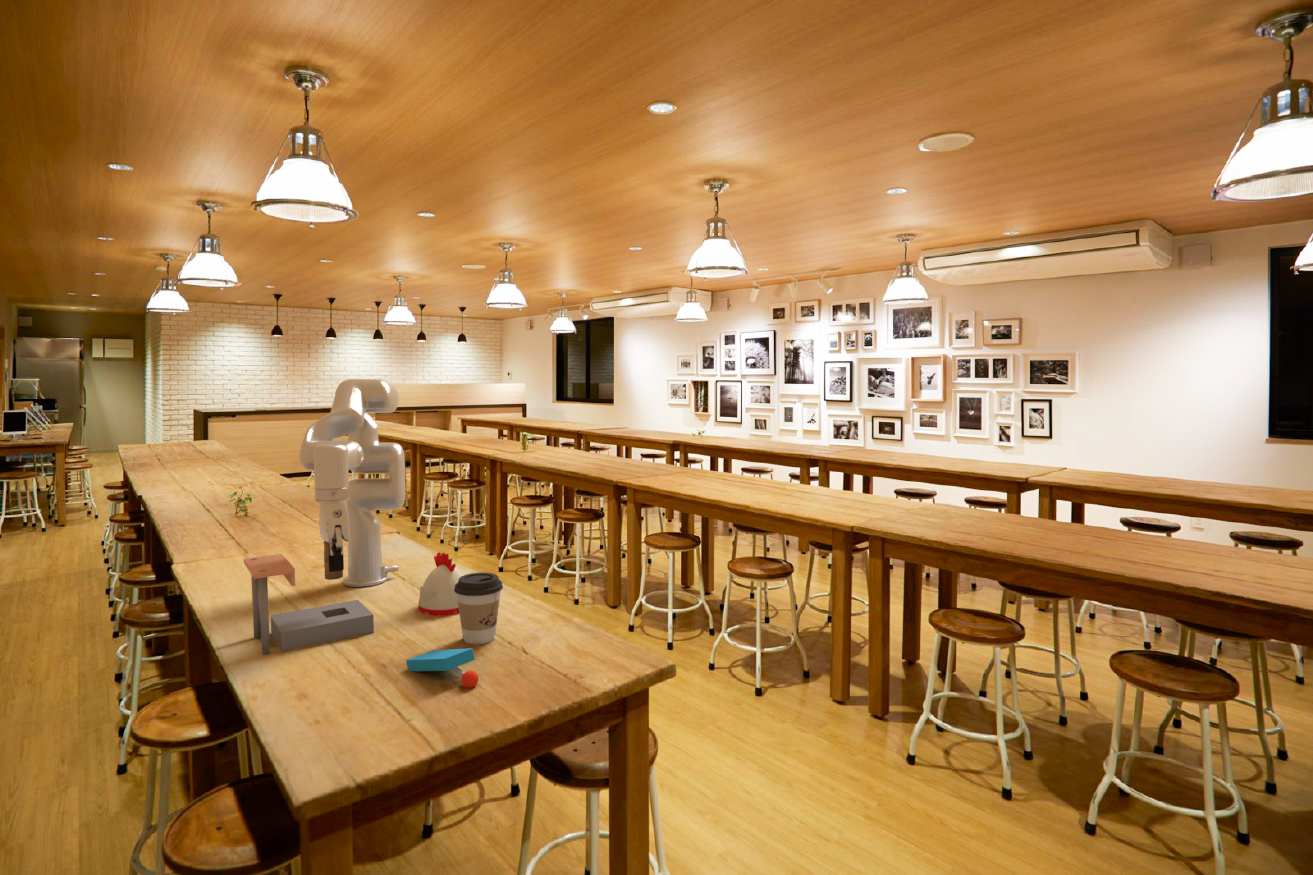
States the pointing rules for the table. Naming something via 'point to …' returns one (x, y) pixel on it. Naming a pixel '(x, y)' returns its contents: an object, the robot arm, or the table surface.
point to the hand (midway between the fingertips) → (334, 568)
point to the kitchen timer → (440, 588)
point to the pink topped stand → (265, 591)
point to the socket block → (321, 624)
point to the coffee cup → (478, 606)
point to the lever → (446, 663)
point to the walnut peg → (328, 574)
